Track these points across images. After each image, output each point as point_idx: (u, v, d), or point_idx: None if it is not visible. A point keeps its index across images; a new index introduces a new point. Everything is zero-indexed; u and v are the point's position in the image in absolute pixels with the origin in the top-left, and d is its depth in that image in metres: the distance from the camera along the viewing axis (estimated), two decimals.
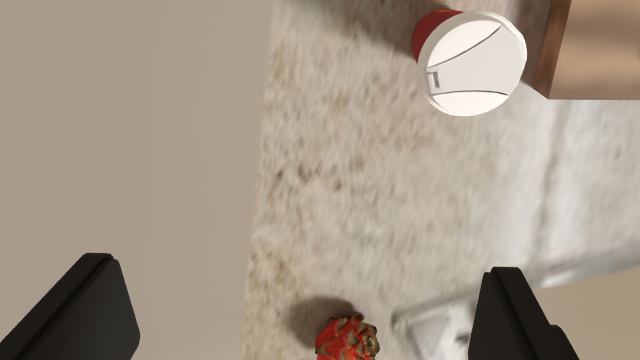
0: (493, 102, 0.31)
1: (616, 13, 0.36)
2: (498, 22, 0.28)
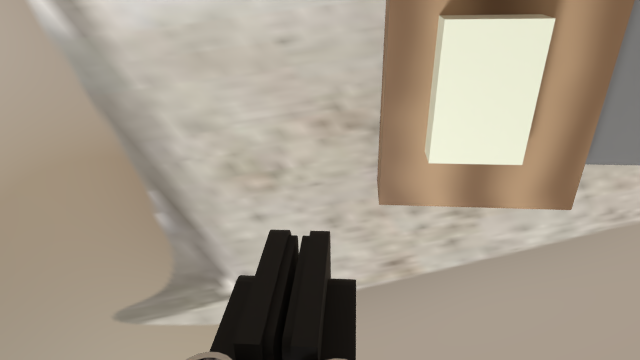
0: None
1: None
2: None
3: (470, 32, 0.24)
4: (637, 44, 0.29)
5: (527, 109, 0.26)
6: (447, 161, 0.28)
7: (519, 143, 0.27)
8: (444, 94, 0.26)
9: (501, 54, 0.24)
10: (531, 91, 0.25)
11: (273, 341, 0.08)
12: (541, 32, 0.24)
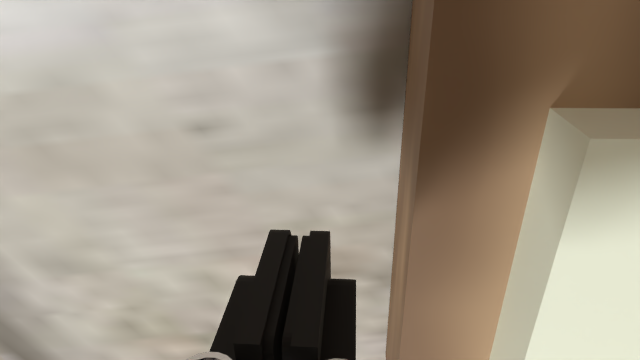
0: None
1: None
2: None
3: None
4: None
5: None
6: None
7: None
8: (562, 302, 0.10)
9: None
10: None
11: (273, 341, 0.08)
12: None
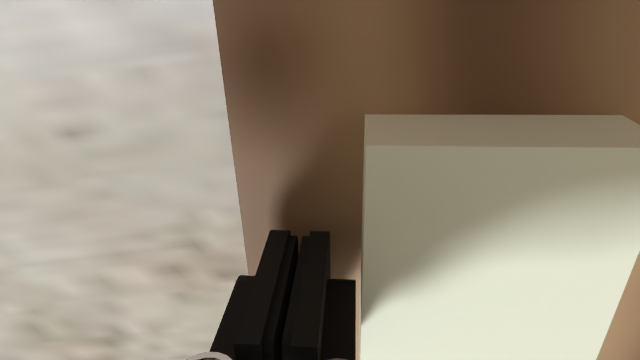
0: None
1: None
2: None
3: (438, 177, 0.09)
4: None
5: (584, 341, 0.10)
6: None
7: None
8: (381, 306, 0.10)
9: (521, 230, 0.09)
10: (597, 307, 0.10)
11: (273, 341, 0.08)
12: (635, 181, 0.08)
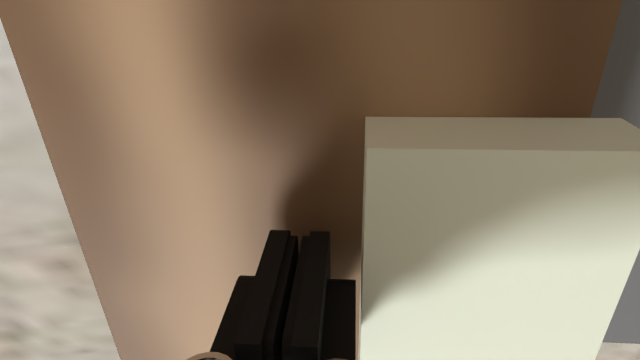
0: None
1: None
2: None
3: (438, 180, 0.09)
4: None
5: (583, 343, 0.11)
6: None
7: None
8: (381, 307, 0.11)
9: (520, 232, 0.09)
10: (595, 309, 0.10)
11: (273, 341, 0.08)
12: (634, 185, 0.08)
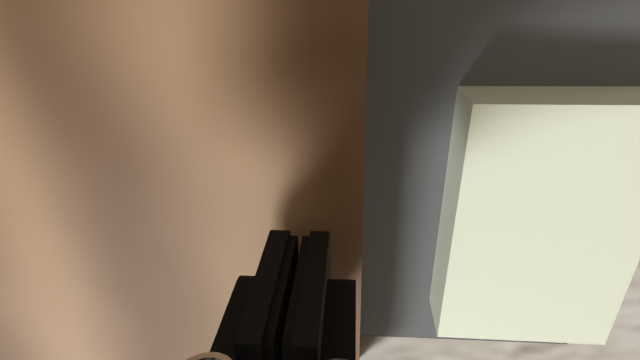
0: None
1: None
2: None
3: None
4: None
5: None
6: None
7: None
8: None
9: None
10: None
11: (273, 341, 0.08)
12: None
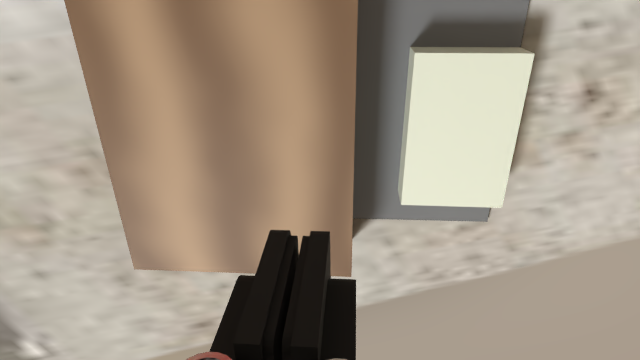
0: None
1: None
2: None
3: None
4: None
5: None
6: None
7: None
8: None
9: None
10: None
11: (273, 341, 0.08)
12: None
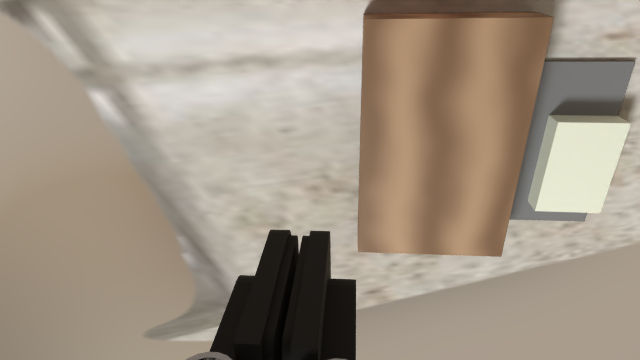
0: None
1: (458, 72, 0.33)
2: None
3: None
4: None
5: None
6: None
7: None
8: None
9: None
10: None
11: (273, 341, 0.08)
12: None
